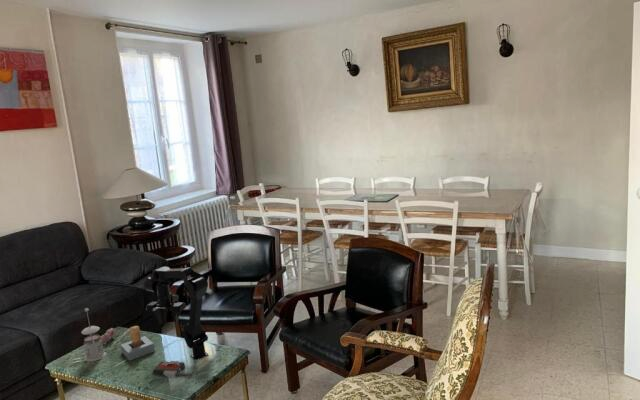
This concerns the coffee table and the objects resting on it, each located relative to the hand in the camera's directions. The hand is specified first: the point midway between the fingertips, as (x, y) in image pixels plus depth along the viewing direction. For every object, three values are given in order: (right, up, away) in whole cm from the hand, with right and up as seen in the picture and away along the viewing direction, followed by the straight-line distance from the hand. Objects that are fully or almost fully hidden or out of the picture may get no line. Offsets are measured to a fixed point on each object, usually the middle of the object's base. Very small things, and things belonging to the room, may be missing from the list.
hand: (168, 323), depth 233 cm
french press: (-36, -17, +2) cm, 40 cm away
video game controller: (-37, -14, +18) cm, 43 cm away
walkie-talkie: (+10, -17, -21) cm, 28 cm away
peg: (-15, -14, +2) cm, 21 cm away
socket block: (-15, -14, +2) cm, 21 cm away
